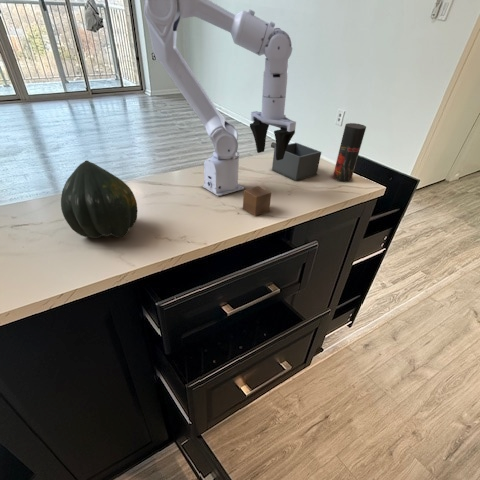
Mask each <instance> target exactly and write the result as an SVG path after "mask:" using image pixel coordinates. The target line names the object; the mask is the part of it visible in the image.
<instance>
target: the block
mask: <svg viewBox="0 0 480 480" xmlns="http://www.w3.org/2000/svg"><path fill="white" fill-rule="evenodd" d="M242 196H243V198H242V199H243V200H242V210H244V211H245V212H247V213H249V214H250V215H252V216H254V217H257V216H260V215H263V214H266V213H269V212H270V208H271V199H272V192H271V191H269V190H267V189H265V188H263V187H261V186H259V185H256V186H253V187H250V188H247V189H243V195H242Z"/></svg>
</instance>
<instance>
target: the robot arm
mask: <svg viewBox="0 0 480 480" xmlns="http://www.w3.org/2000/svg"><path fill="white" fill-rule="evenodd" d="M255 14H256V12H255V10H253V9H248V11H247V10H245V9H243V10H240V11H239V12H238V13H236V14H234V13H233V12H231V11H229V10H227V9H225V8H224V7H222V6H220V5H218V4H217V3H215V2H213V1H212V0H144V11H143V15H144V17H145V20H146V23H147V29H148V33H149V38H150V43H151V48H152V52H153V54H154V56H155V58H156V59H157V61H158V62H159V63H160V65H161V66H162V68H163V69H164V71H165V72H166V74H167V75H168V76H169V79H171V81H172V82H173V84H174V85H175V87H176V88H177V89H178V90H179V92H180V94H181V95H182V96H183V98H184V99H185V101H186V102H187V104H188V105H189V107H190V108H191V109H192V110H193V112H194V113H195V115H196V116H197V118H198V119H199V121H200V122H201V123H202V125H203V126H204V128H205V130H206V134H207V135H208V137H209V139H210V140H211V142H212V146H213V149H214V150H213V151H212V155H211V156H210V157H209V158H206V159H205V160H204V163H203V183H204V184H203V185H202V187H203V188H204V189H206V190H208V191H209V192H211V193H212V194H214V195H216V196H217V197H221V196H224V195H228V194H232V193H235V192H238V191H242V190H245V187H244V186H242V185H241V184H239V167H240V153H239V151H238V150H239V142H238V140H239V133H238V130H237V128H236V127H235V126H234V125H233V124H231V123H229V122H228V120H227V119H226V118H225V116H224V115H223V114H221V112H220V111H219V110H218V108H217V107H216V105H215V104H214V102H213V101H212V99H211V98H210V96H209V95H208V93H207V92H206V89H204V87H203V86H202V84H201V83H200V81H199V80H198V77H196V75H195V73H194V72H193V71H192V69H191V67H190V66H189V64H188V63H187V61H186V60H185V57H184V56H183V55H182V54H181V52H180V50H179V49H178V47H177V40H178V39H177V38H178V26H179V24H180V20H181V19H188V18H193V17H194V18H197V19H200V20H202V21H204V22H205V23H206V22H207V24H211V25H212V26H215V27H217V28H220V29H221V30H224V31H225V32H228V33H229V34H230V35H231V38H232V41H233V43H234V44H235V45H237V46H239V47H241V48H242V49H245V50H247V51H249V52H251V53H253V54H255V55H258V56H263V55H264V56H265V58H264V71H263V75H262V76H263V77H262V97H261V98H262V99H261V111H258V110H254V111H251V112H250V121H252V122H251V123H249V129H250V131H251V133H252V135H253V138H254V142H255V143H254V144H255V148H256V153H257V154H261V153H264V152H265V149H266V143H267V142H266V140H267V136H268V135H267V134H268V130H269V127H270V126H273V127H276V128H279V129H277V130H274V131H273V134H274V139H275V143H276V160H281V159H283V158H284V154H285V151H286V149H287V146H288V144H290V142H291V140H292V138H293V137H294V135H295V134H296V126H297V121H294V120H293V119H290V118H289V117H287V115H286V114H285V110H286V109H285V108H286V100H287V99H286V98H287V87H288V75H289V73H288V72H289V71H288V69H289V59H290V58H291V55H292V52H293V47H292V41H291V37H290V35H289V33H287V32H286V31H285V30H283V29H281V27H276V23H275V22H273V21H270V22H267V20H264V19H262V18H260V17H258V16H256V15H255Z"/></svg>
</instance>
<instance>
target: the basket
mask: <svg viewBox="0 0 480 480" xmlns="http://www.w3.org/2000/svg"><path fill="white" fill-rule="evenodd" d="M270 148H272V149H273V158H272V165H271V166H272V167H271V171H273V172H275V173H277V174H280V175H281V176H284V177H285V178H288V179H291V180H292V181H295V182H297V181H301V180H303V179H307V178H310V177H313V176H317V175H318V170H319V166H320V162H321V161H320V160H321V156H322V151H320V150H317V149H314V148H312V147H309V146H308V145H307V146H306V145H304V144H301V143H298V142H293V143H289V144H288V146H287V149H286V151H285V154H284V158H283V159H281V160H276V142H274V141H272V142H271V144H270Z"/></svg>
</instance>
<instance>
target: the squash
mask: <svg viewBox="0 0 480 480" xmlns="http://www.w3.org/2000/svg"><path fill="white" fill-rule="evenodd" d="M137 202H138V201H137V199H136V197H135V194H134V192H133V191H132V189H131V188H130V186H129V185H128V184H127V183H125V182H124V180H122V179H120V178H119V177H118V176H116V175H114V174H112V173H111V172H109V171H107V170H106V169H105V168H102V167H101V166H99V165H98V164H96V163H94V162H91V161H89V160H88V159H87V160H84V161H83V162H82V163H80V164H79V165H78V166H77V167H76V168H75V169H74V171H73V172H72V173H71V174H70V175H69V177H68V178H67V179H66V181H65V183H64V185H63V188H62V191H61V197H60V208H61V209H60V210H61V213H62V216H63V217H64V219H65V222H66V224H68V226H69V227H70V228H71V230H72V231H74V232H75V233H76V234H78V235H79V236H81V237H84V238H93V239H98V238H100V237H102V236H103V237H109V236H110V235H112V236H114V237H116V238H122V237H124V236H126V235H127V234H128V233H129V230H130V229H131V228H133V227H134V225H135V224H136V222H137V217H138V212H139V211H138V203H137Z"/></svg>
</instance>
